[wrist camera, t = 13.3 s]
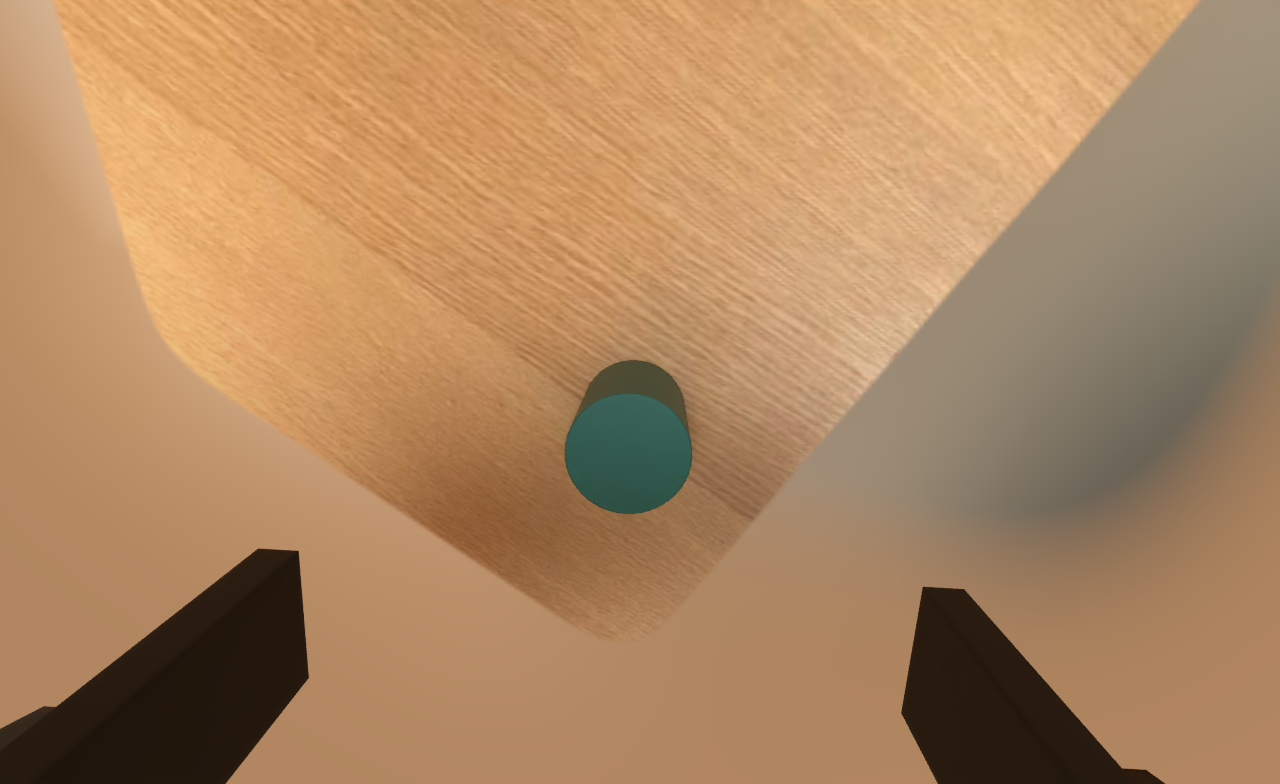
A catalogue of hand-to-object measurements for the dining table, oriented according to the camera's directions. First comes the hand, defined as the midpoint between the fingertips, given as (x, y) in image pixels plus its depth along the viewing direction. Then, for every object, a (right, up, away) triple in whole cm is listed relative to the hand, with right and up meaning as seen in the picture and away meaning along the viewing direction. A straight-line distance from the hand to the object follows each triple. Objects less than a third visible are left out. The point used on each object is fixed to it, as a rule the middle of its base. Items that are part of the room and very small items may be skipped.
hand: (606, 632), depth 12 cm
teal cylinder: (0, +4, +16) cm, 16 cm away
